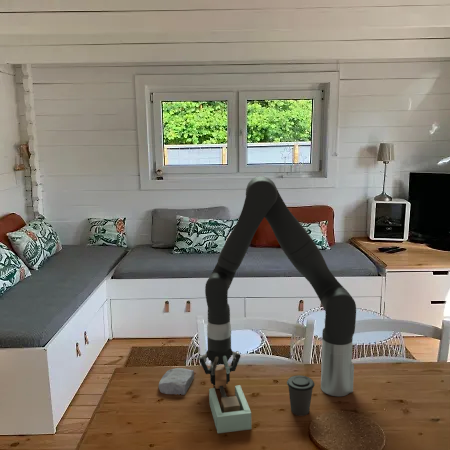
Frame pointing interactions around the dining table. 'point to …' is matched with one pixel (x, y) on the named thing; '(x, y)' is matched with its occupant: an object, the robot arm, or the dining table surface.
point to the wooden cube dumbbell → (220, 382)
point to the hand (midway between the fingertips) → (220, 383)
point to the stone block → (176, 381)
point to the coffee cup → (300, 394)
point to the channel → (230, 413)
